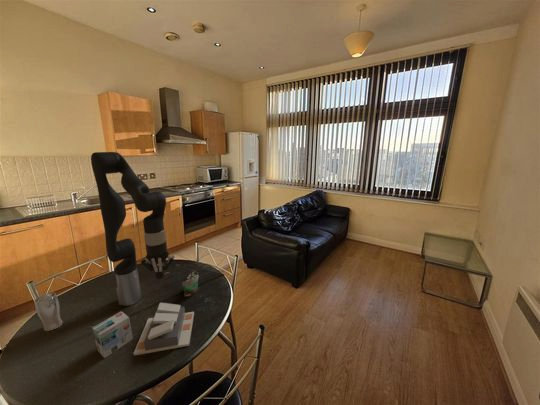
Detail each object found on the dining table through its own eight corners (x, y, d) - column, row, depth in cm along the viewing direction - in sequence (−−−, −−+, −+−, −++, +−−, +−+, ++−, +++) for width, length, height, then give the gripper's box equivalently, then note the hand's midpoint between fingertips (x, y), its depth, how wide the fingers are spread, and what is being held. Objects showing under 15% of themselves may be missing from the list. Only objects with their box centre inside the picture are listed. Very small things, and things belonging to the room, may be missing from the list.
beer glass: (68, 322, 99) (60, 294, 95) (48, 334, 93) (39, 304, 89) (58, 318, 101) (50, 290, 97) (38, 330, 95) (29, 300, 91)
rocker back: (156, 311, 95) (157, 309, 95) (159, 304, 99) (160, 302, 99) (178, 314, 97) (179, 311, 97) (180, 307, 101) (180, 305, 101)
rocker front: (149, 340, 84) (147, 337, 84) (152, 330, 88) (151, 328, 88) (172, 330, 85) (170, 328, 85) (174, 321, 89) (173, 319, 89)
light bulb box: (104, 359, 82) (98, 335, 79) (96, 350, 86) (91, 327, 83) (134, 338, 91) (129, 316, 88) (125, 331, 94) (121, 310, 92)
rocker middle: (152, 323, 89) (152, 320, 89) (155, 315, 93) (155, 312, 93) (175, 323, 92) (176, 321, 91) (177, 316, 96) (178, 313, 95)
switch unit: (133, 355, 83) (131, 343, 82) (148, 320, 100) (146, 309, 99) (189, 345, 88) (187, 333, 86) (194, 313, 105) (193, 303, 103)
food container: (195, 299, 114) (193, 282, 112) (183, 299, 114) (181, 282, 112) (202, 285, 126) (201, 269, 124) (192, 284, 126) (190, 269, 124)
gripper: (134, 246, 83) (140, 285, 88) (171, 243, 86) (175, 282, 90) (141, 237, 90) (146, 274, 95) (175, 236, 93) (178, 271, 97)
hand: (160, 278), depth 93 cm, fingers closed
